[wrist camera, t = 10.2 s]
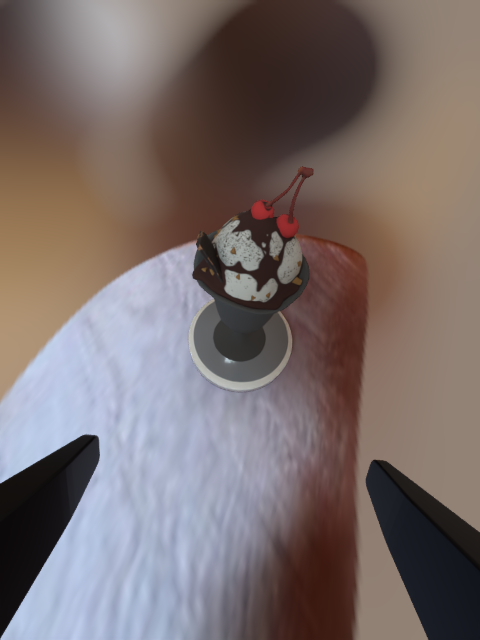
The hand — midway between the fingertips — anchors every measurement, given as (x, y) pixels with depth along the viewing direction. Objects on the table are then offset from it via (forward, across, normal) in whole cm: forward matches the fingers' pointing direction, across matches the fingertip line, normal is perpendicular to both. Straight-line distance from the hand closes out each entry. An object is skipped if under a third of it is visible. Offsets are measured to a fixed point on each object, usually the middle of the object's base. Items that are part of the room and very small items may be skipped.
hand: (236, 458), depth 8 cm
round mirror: (+17, 0, +2) cm, 17 cm away
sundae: (+15, 0, +1) cm, 15 cm away
